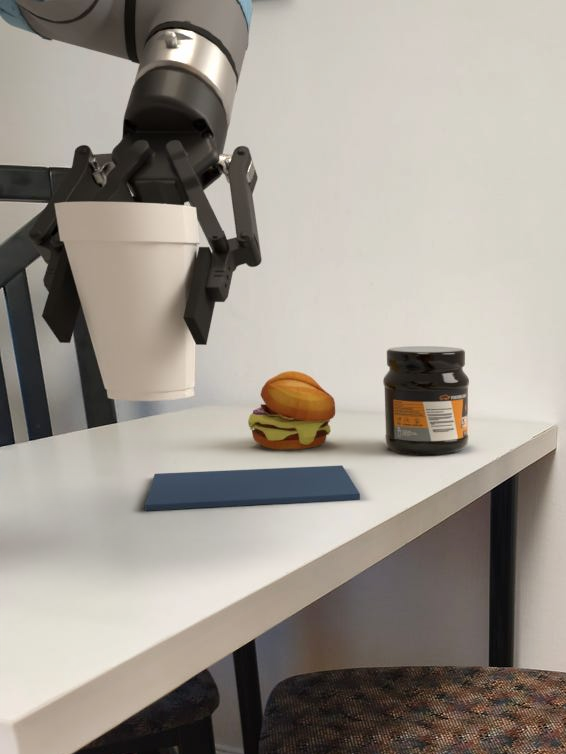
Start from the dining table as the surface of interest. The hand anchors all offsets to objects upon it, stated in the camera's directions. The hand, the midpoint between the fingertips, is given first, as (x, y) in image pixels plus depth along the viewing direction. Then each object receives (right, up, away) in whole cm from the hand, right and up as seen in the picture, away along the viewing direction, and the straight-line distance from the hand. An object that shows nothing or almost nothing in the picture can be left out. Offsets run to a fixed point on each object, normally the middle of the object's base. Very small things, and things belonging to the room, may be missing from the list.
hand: (125, 330), depth 63 cm
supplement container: (+19, +2, +50) cm, 53 cm away
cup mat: (+2, -6, +28) cm, 29 cm away
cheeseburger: (+1, +3, +51) cm, 51 cm away
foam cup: (0, -3, +5) cm, 6 cm away
